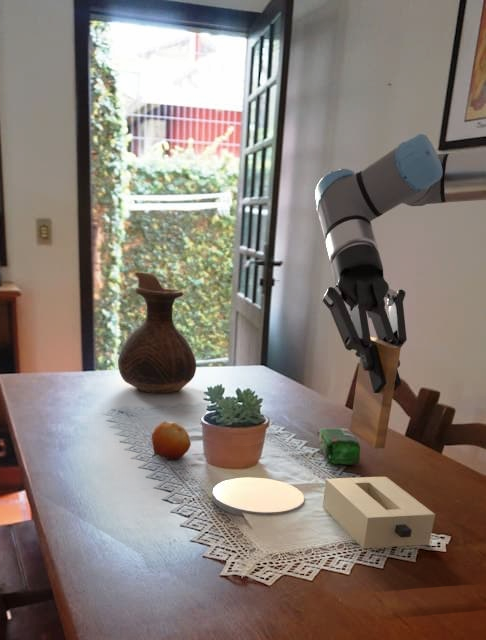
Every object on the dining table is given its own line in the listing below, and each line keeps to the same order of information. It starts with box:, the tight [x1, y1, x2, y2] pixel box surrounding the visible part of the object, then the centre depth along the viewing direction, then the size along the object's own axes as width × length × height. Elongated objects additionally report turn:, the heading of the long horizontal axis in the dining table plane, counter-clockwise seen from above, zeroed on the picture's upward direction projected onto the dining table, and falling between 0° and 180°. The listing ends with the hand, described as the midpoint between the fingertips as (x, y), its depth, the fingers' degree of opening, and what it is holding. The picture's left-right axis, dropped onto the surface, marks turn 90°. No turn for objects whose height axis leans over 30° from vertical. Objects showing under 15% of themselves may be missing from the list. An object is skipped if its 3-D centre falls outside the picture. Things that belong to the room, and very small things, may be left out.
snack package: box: [317, 427, 361, 466], centre depth 143 cm, size 7×16×5 cm, turn 0°
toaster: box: [322, 476, 436, 550], centre depth 108 cm, size 11×18×6 cm, turn 13°
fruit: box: [151, 421, 191, 461], centre depth 137 cm, size 8×8×8 cm
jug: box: [117, 271, 197, 394], centre depth 186 cm, size 22×22×30 cm
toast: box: [349, 336, 402, 449], centre depth 103 cm, size 2×9×15 cm, turn 13°
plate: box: [211, 477, 305, 518], centre depth 119 cm, size 16×16×1 cm
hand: (387, 387), depth 99 cm, fingers closed on toast, 2 cm apart
